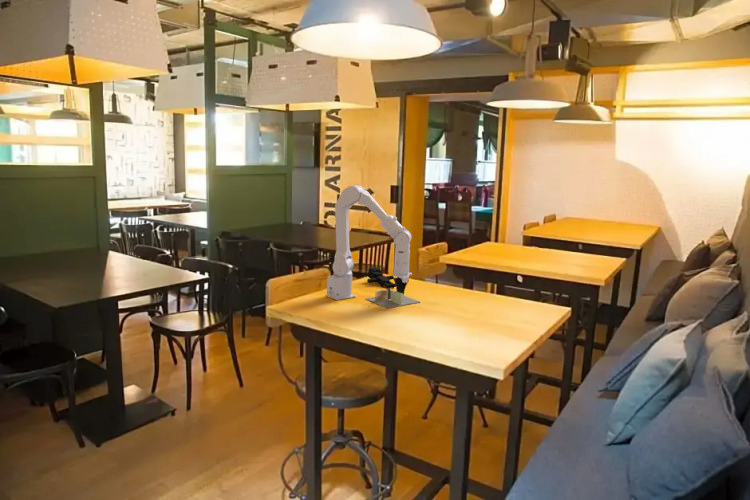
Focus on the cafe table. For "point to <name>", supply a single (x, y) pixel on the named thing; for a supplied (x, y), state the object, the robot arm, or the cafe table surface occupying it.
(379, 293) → the block
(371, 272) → the toy
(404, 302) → the card
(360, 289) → the cafe table surface
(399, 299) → the fence panel
